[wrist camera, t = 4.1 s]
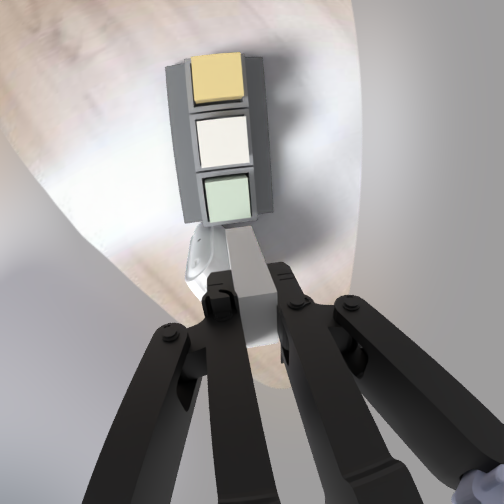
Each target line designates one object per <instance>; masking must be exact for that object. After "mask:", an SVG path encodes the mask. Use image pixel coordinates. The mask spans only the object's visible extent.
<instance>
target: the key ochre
mask: <svg viewBox="0 0 504 504" xmlns="http://www.w3.org/2000/svg"><path fill="white" fill-rule="evenodd" d="M191 64H192V77H193V89H194V100H195V102H196V104H198V103H205V102H214V101H223V100H234V99H241V98H242V97H243V96H244V89H243V77H242V65H241V54H240V52H235V53H222V54H211V55H202V56H194V57H191Z"/></svg>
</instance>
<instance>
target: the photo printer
mask: <svg viewBox="0 0 504 504" xmlns="http://www.w3.org/2000/svg"><path fill="white" fill-rule="evenodd" d="M225 270H230V262H229V255H228V247H227V239H226V231H225V228H224V227H223V226H222V225H217V226H209V227H203V222H202V223H200V224H199V225H198V226H197V227H196V229H195V231H194V235H193V236H192V237H191V240H190V246H189V252H188V259H187V265H186V273H185V281H186V283H187V284H188V286H189V287H190V289H191V290H192V292H193V293H194V294H195V295H196V297H197V298H198V299H199V300H200V301H201V300H202V296H203V295H204V294H205V293H206V292H207V278H208V276H209V275H210V273H211V272H218V271H225Z"/></svg>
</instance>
